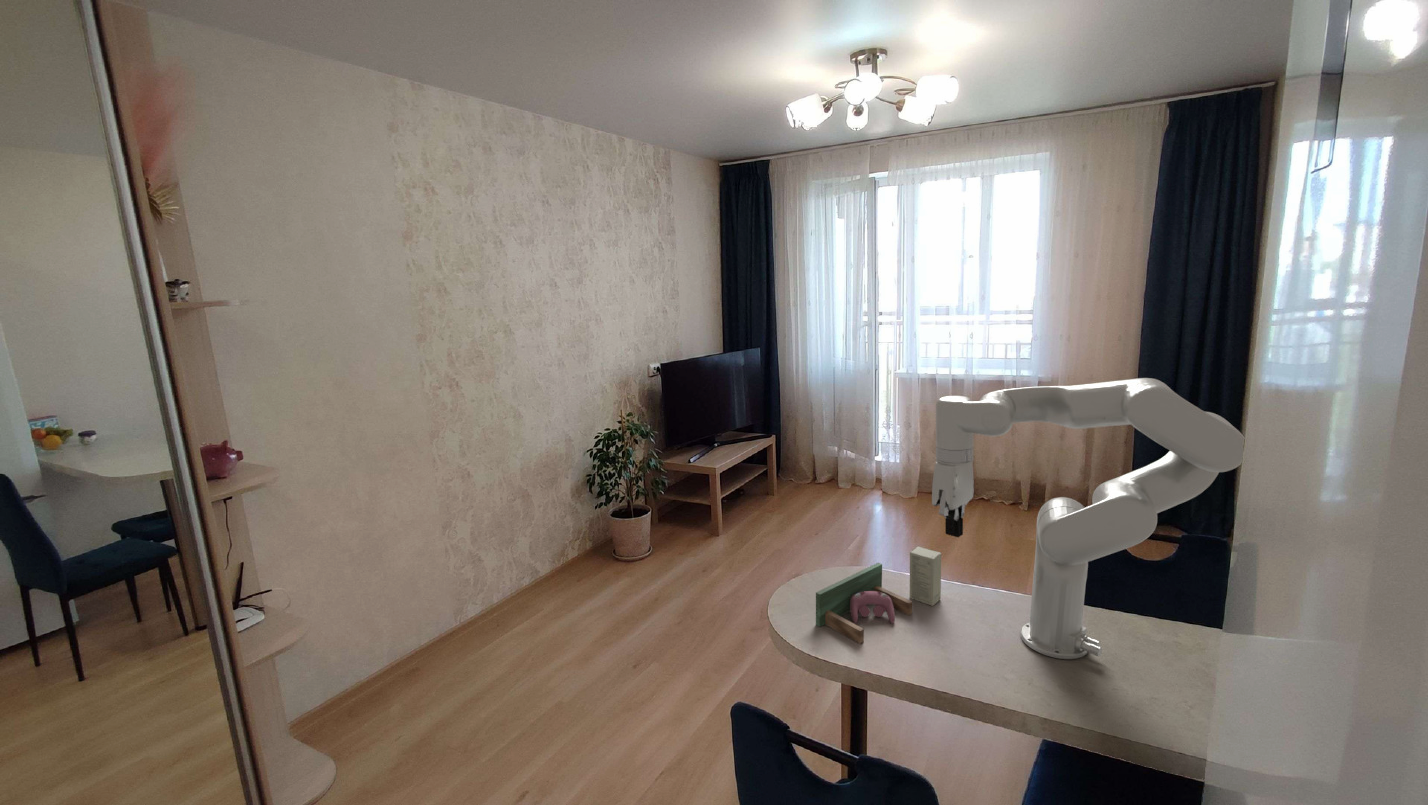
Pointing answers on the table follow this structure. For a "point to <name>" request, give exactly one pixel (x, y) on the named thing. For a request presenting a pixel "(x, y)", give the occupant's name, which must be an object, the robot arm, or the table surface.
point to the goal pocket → (838, 597)
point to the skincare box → (925, 575)
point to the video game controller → (871, 597)
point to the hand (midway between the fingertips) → (954, 534)
